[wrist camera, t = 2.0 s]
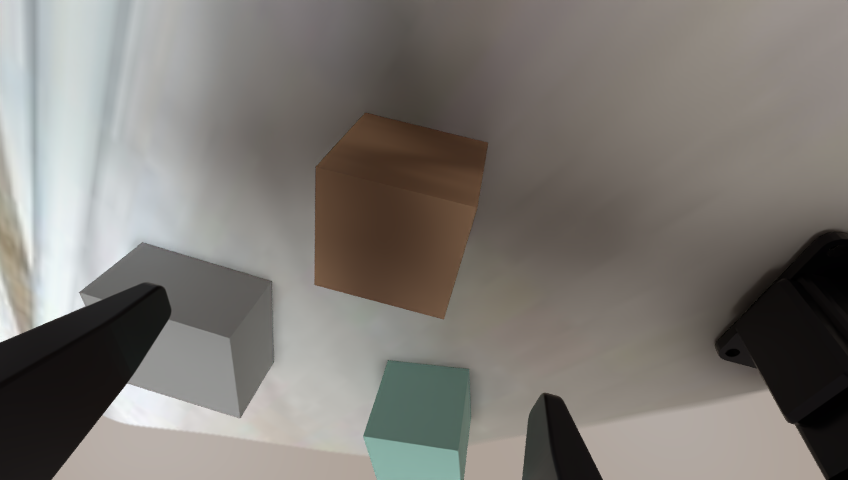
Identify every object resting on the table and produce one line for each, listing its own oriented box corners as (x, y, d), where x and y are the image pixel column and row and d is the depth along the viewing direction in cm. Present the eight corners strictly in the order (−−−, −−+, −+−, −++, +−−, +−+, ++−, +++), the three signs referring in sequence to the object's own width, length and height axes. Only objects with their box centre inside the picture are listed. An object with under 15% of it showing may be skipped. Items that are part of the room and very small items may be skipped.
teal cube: (469, 368, 22) (458, 450, 18) (471, 415, 24) (461, 496, 21) (388, 359, 23) (363, 436, 19) (398, 405, 25) (377, 481, 22)
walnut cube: (488, 141, 14) (477, 207, 11) (459, 240, 17) (443, 319, 14) (365, 112, 15) (315, 166, 11) (357, 214, 17) (314, 285, 14)
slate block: (273, 278, 21) (229, 338, 18) (275, 358, 25) (240, 418, 22) (145, 239, 21) (79, 292, 18) (168, 326, 25) (118, 380, 22)
